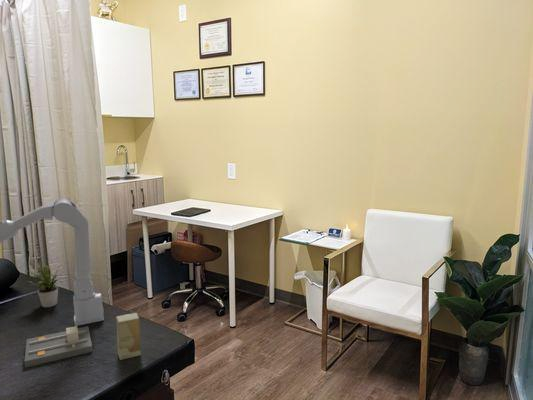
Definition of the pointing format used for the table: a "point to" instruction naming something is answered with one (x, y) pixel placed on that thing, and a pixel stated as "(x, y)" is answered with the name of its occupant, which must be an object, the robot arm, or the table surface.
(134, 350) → the skincare box
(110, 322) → the table surface
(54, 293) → the house plant
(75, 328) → the block
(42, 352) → the panel
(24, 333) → the table surface
